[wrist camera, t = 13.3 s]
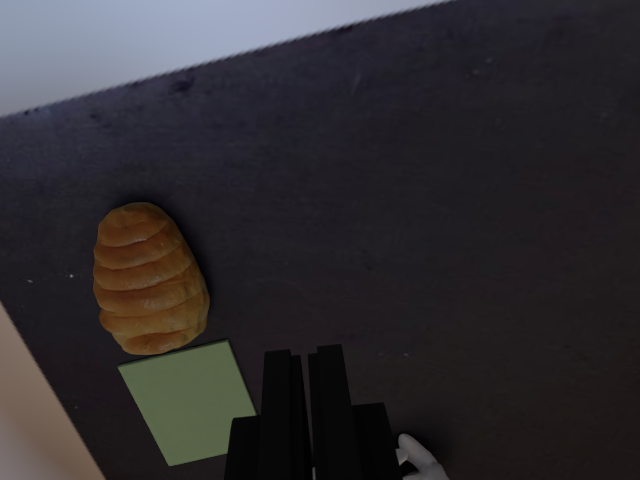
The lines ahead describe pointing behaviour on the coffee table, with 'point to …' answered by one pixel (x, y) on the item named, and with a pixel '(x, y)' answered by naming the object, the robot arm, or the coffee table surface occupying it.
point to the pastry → (147, 281)
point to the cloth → (190, 399)
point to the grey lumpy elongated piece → (416, 460)
